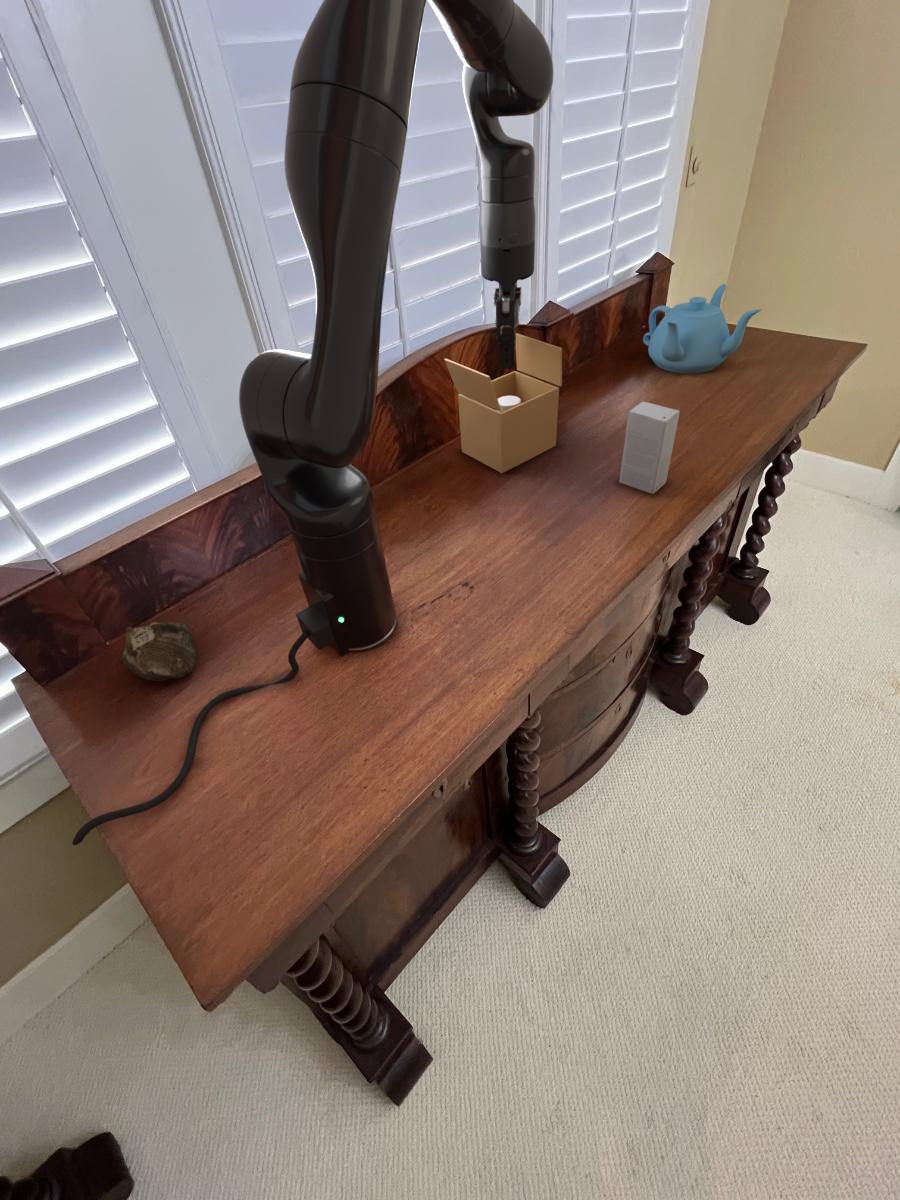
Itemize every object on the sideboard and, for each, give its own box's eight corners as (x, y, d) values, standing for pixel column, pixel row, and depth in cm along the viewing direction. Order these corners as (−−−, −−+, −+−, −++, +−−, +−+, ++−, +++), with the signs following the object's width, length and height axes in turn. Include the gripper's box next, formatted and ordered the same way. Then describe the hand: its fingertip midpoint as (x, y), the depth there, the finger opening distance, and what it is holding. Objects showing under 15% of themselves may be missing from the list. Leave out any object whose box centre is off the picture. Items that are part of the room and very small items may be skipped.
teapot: (748, 372, 117) (766, 307, 109) (657, 383, 117) (669, 318, 108) (711, 342, 130) (725, 281, 121) (629, 351, 129) (637, 291, 121)
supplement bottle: (520, 454, 100) (521, 407, 94) (493, 453, 101) (492, 406, 95) (523, 440, 103) (524, 394, 97) (497, 439, 104) (496, 393, 98)
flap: (501, 409, 89) (499, 411, 89) (458, 390, 95) (457, 391, 95) (489, 376, 84) (488, 377, 84) (445, 358, 90) (444, 359, 90)
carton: (501, 473, 96) (500, 373, 85) (461, 451, 103) (455, 356, 91) (558, 444, 102) (564, 347, 91) (517, 425, 108) (518, 332, 97)
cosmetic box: (666, 483, 91) (681, 410, 83) (652, 495, 89) (666, 422, 81) (631, 471, 94) (643, 400, 86) (617, 482, 92) (627, 410, 84)
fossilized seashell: (118, 631, 72) (119, 699, 66) (127, 595, 68) (128, 664, 62) (184, 634, 76) (190, 698, 70) (196, 600, 72) (203, 665, 67)
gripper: (483, 228, 86) (486, 341, 97) (476, 252, 76) (480, 376, 87) (535, 225, 85) (532, 339, 96) (534, 249, 75) (531, 374, 86)
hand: (507, 356), depth 91 cm, fingers open, 8 cm apart
